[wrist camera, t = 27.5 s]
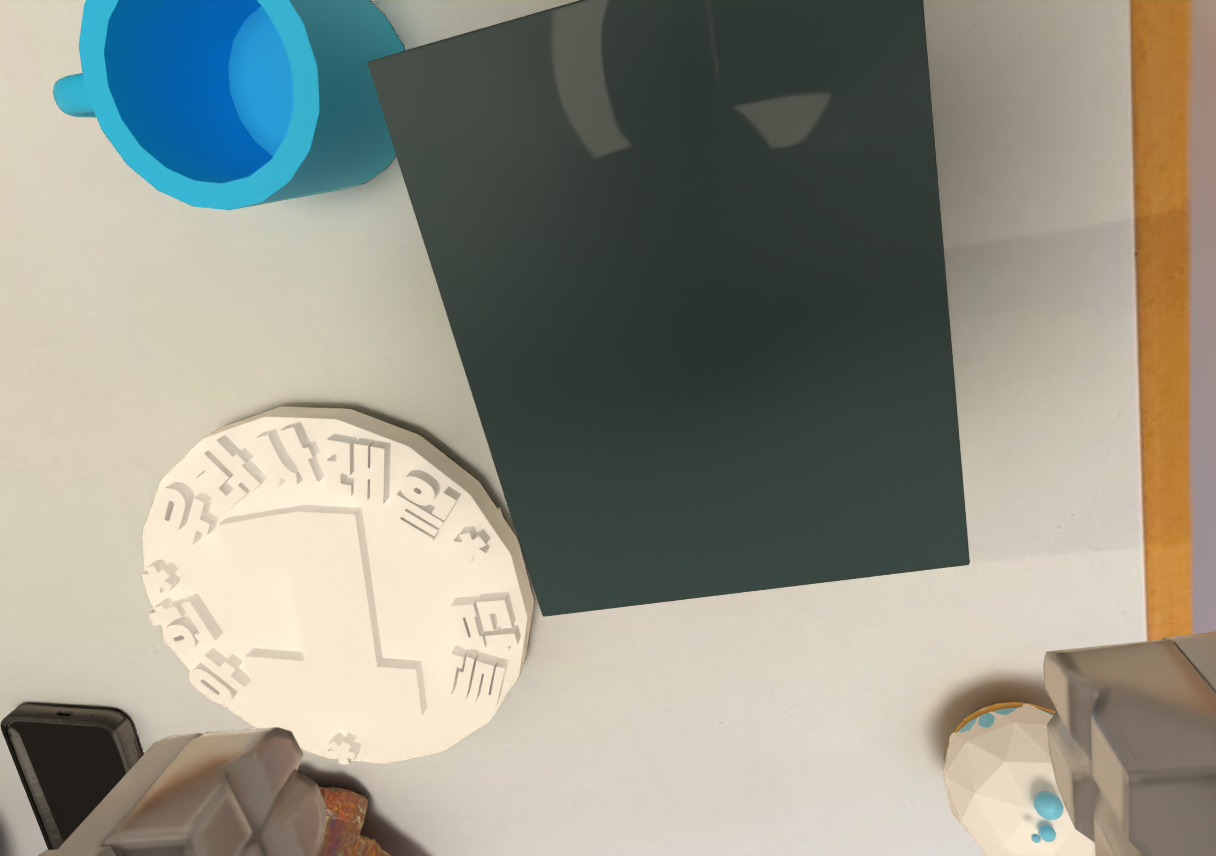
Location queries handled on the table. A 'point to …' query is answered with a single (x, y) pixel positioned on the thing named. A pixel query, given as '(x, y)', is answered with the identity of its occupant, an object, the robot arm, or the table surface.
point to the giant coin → (338, 583)
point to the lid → (695, 288)
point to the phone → (68, 761)
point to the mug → (236, 94)
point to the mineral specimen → (346, 825)
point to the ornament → (1009, 784)
